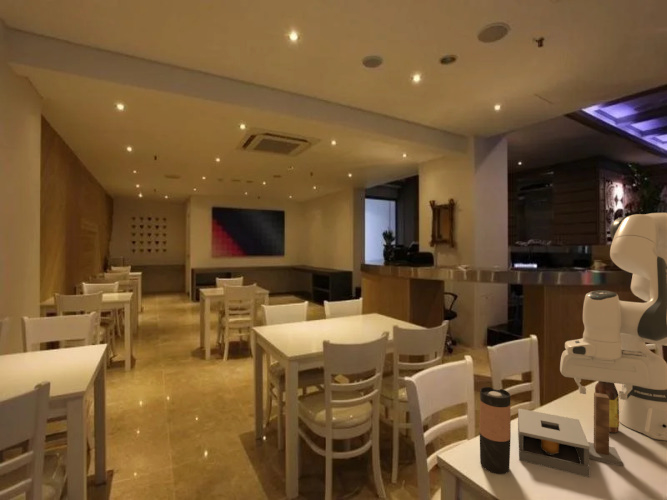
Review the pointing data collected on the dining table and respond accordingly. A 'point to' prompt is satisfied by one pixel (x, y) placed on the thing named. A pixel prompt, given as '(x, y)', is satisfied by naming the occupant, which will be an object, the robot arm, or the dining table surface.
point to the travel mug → (495, 430)
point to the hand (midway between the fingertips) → (602, 395)
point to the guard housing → (553, 440)
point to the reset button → (550, 446)
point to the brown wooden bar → (601, 423)
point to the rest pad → (610, 458)
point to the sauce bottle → (610, 403)
